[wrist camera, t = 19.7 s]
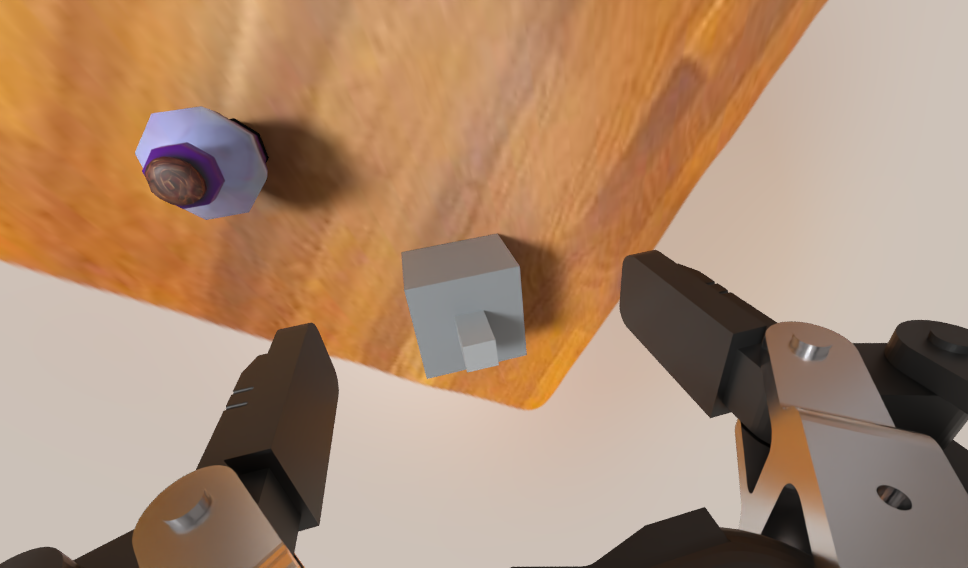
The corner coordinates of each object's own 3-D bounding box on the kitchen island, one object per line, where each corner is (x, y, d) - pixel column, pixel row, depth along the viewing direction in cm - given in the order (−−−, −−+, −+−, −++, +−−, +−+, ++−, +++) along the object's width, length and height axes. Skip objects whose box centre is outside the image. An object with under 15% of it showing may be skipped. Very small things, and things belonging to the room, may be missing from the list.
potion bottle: (154, 134, 34) (50, 161, 23) (233, 77, 33) (163, 80, 23) (235, 213, 38) (178, 266, 28) (306, 165, 37) (275, 201, 27)
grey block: (401, 252, 43) (406, 319, 32) (497, 233, 45) (536, 291, 33) (421, 331, 49) (431, 414, 37) (505, 312, 51) (542, 386, 39)
